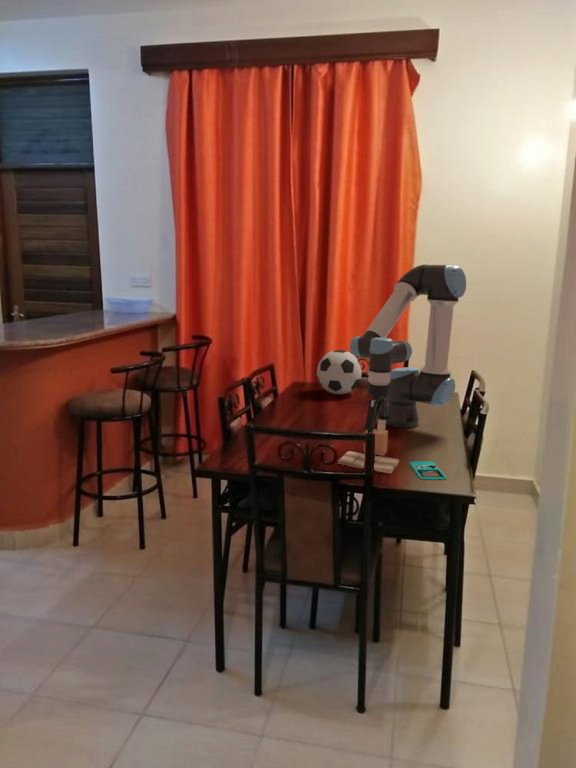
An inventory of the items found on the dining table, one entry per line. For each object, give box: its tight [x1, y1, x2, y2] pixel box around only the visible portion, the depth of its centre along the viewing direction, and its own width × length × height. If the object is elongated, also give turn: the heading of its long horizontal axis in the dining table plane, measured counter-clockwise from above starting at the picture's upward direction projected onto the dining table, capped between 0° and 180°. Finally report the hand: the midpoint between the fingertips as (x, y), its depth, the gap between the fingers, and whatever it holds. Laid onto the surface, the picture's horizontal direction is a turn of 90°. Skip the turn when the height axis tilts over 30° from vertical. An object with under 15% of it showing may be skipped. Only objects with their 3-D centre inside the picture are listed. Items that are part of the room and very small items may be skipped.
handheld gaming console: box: [409, 460, 447, 481], centre depth 187 cm, size 8×1×15 cm
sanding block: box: [363, 428, 389, 457], centre depth 202 cm, size 5×7×8 cm
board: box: [337, 450, 400, 475], centre depth 192 cm, size 11×18×1 cm, turn 65°
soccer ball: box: [316, 349, 363, 395], centre depth 285 cm, size 22×22×22 cm
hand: (375, 442), depth 202 cm, fingers open, 13 cm apart
